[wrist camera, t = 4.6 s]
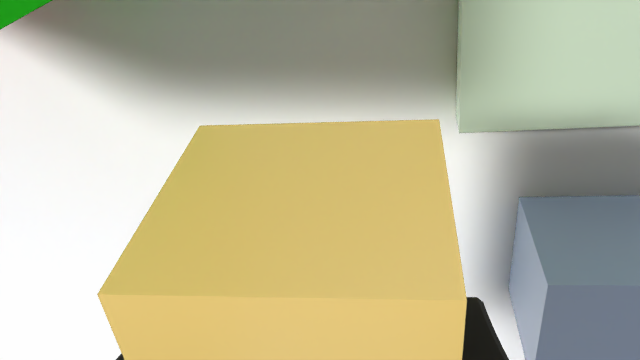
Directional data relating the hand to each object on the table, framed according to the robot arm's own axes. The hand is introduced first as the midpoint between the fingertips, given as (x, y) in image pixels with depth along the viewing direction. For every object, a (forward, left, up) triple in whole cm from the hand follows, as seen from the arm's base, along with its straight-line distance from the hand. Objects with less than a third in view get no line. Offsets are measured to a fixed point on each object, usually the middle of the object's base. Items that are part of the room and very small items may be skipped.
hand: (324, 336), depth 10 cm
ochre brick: (0, 0, -2) cm, 2 cm away
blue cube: (-5, -7, -8) cm, 12 cm away
